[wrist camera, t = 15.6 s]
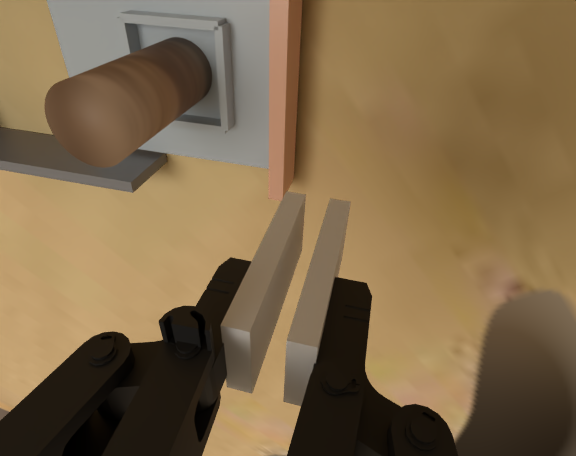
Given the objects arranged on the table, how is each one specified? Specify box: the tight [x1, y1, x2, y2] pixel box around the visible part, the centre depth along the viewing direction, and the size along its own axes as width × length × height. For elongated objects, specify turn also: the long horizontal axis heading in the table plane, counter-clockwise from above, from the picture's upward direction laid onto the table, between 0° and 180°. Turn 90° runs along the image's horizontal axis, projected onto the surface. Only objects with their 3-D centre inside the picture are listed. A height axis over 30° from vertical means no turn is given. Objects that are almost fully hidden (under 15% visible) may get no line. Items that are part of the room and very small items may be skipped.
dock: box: [0, 127, 167, 193], centre depth 32 cm, size 20×18×6 cm
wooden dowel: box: [45, 37, 212, 168], centre depth 26 cm, size 5×5×12 cm
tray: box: [47, 0, 302, 201], centre depth 30 cm, size 20×17×4 cm
